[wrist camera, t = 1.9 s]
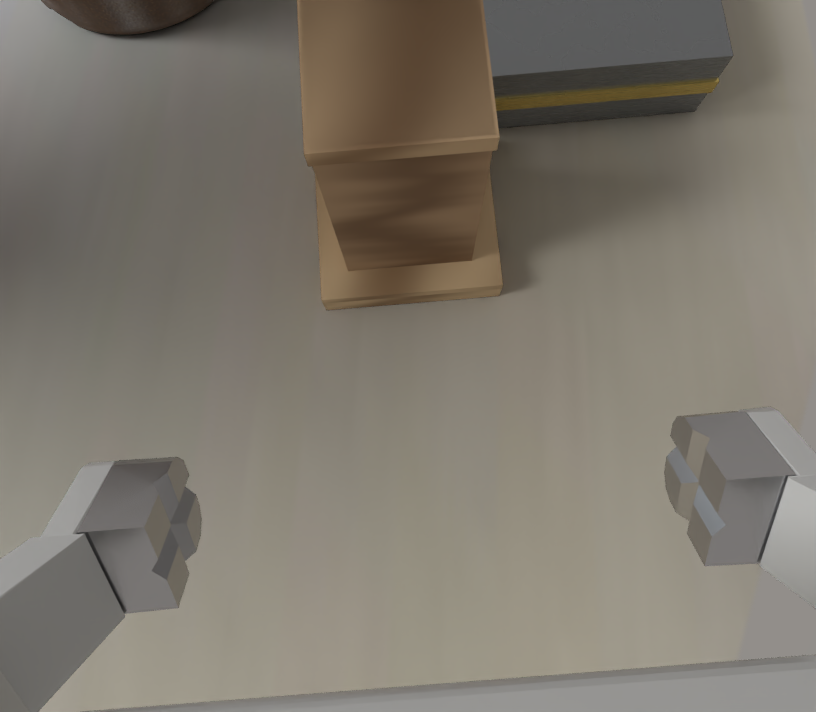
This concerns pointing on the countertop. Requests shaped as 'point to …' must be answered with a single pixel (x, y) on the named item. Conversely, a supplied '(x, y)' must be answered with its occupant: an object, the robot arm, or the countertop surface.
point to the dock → (602, 57)
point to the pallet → (409, 270)
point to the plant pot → (126, 14)
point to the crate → (398, 125)
